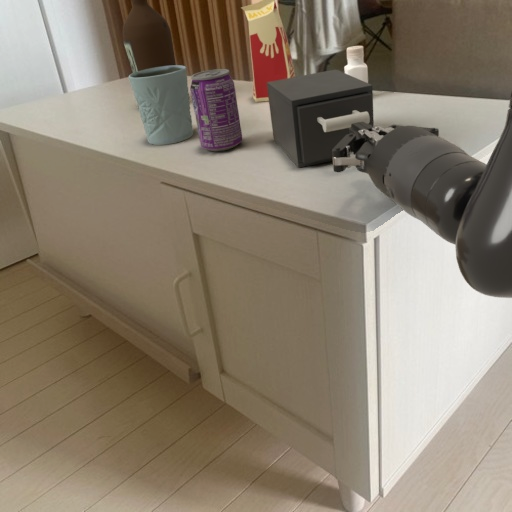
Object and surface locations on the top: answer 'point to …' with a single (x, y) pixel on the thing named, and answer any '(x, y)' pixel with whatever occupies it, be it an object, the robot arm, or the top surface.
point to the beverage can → (216, 109)
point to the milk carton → (267, 47)
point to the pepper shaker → (356, 63)
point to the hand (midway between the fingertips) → (356, 130)
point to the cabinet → (303, 92)
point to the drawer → (330, 123)
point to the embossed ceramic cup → (163, 103)
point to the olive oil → (147, 38)
